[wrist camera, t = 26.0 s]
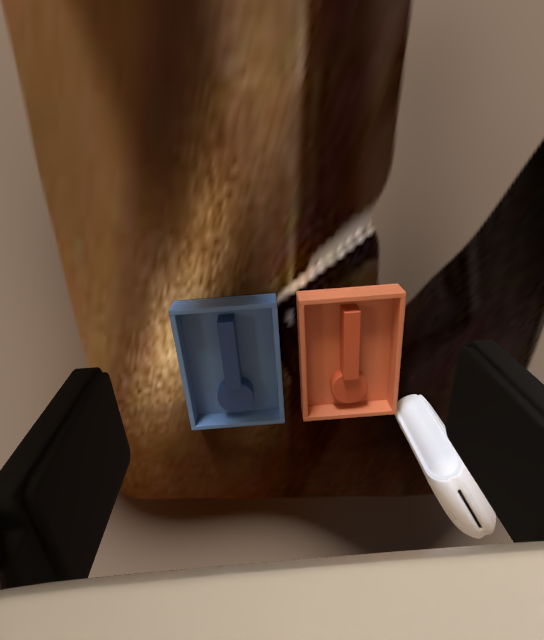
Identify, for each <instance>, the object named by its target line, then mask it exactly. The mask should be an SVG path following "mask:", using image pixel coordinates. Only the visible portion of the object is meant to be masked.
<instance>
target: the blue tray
mask: <svg viewBox="0 0 544 640" xmlns="http://www.w3.org/2000/svg"><path fill="white" fill-rule="evenodd" d="M233 313H234V314H235V323H236V331H237V339H238V348H239V356H240V364H241V373H242V377H244V378H246V379H248V380H249V381H250V382H251V383H252V385H253V388H254V400H253V403H252V405H251V406H250V407H249V408H248V409H247V410H245V411H242V412H236V413H235V412H229V411H227V410H225V409H223V408H222V407H221V406H220V404H219V402H218V389H219V386H220V384H221V382H222V381H223V380H224V372H223V365H222V358H221V351H220V344H219V337H218V330H217V319H218V315H221V314H233ZM169 315H170V321H171V326H172V331H173V336H174V341H175V346H176V351H177V356H178V362H179V367H180V372H181V377H182V382H183V387H184V392H185V397H186V403H187V408H188V413H189V418H190V423H191V428H192V430H202V429H215V428H227V427H240V426H253V425H265V424H278V423H285V415H284V400H283V385H282V371H281V356H280V341H279V326H278V311H277V299H276V293H270V294H257V295H244V296H231V297H218V298H205V299H192V300H179V301H173V303H172V305H171V307H170V309H169Z"/></svg>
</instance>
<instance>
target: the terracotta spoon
mask: <svg viewBox="0 0 544 640" xmlns="http://www.w3.org/2000/svg"><path fill="white" fill-rule="evenodd" d="M360 328H361V311H360V309H359V308H358V306H357V305H356V304H347V305H340V369H339V370H337V371H336V372H335V373H334V374H333V375H332V377H331V379H330V388H331V391H332V394H333V396H334V398H335V399H336V400H338V401H340V402H342V403H354V402H357V401H359V400H360V399H362V398H363V397H364V395H365V394H366V392H367V388H368V385H367V381H366V379H365V377H364V375H363V373H362V372H361V371H360V370H359V361H360Z"/></svg>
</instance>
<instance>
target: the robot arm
mask: <svg viewBox="0 0 544 640" xmlns="http://www.w3.org/2000/svg"><path fill="white" fill-rule="evenodd" d="M445 428H446V434H447V437H448V439H449V441H450V442H451V444H452V446H453V447H454V449H455V450H456V452H457V453H458V455H459V457H460V458H461V460H462V461H463V463H464V465H465V466H466V468H467V469H468V471H469V472H470V474H471V476H472V477H473V479H474V480H475V482H476V483H477V485H478V487H479V488H480V490H481V491H482V493H483V494H484V496H485V498H486V499H487V501H488V502H489V504H490V506H491V507H492V509H493V510H494V512H495V513H496V515H497V516H498V518H499V519H500V521H501V523H502V524H503V526H504V527H505V529H506V531H507V532H508V534H509V535H510V537H511V539H512V540H513V542H514V543H504V544H491V545H478V546H465V547H451V548H438V549H425V550H411V551H398V552H386V553H373V554H360V555H349V556H335V557H323V558H311V559H298V560H286V561H274V562H262V563H250V564H239V565H227V566H215V567H204V568H192V569H180V570H169V571H158V572H147V573H134V574H125V575H114V576H105V577H95V578H88V575H89V573H90V570H91V567H92V564H93V562H94V559H95V556H96V553H97V551H98V548H99V545H100V542H101V539H102V537H103V534H104V531H105V529H106V526H107V523H108V520H109V517H110V515H111V512H112V509H113V506H114V504H115V501H116V498H117V495H118V493H119V490H120V487H121V484H122V482H123V479H124V476H125V473H126V471H127V468H128V465H129V462H130V448H129V444H128V441H127V437H126V433H125V430H124V426H123V423H122V419H121V416H120V412H119V409H118V405H117V402H116V398H115V394H114V391H113V387H112V384H111V380H110V377H109V375H108V373H106V372H102V371H101V369H100V368H98V367H95V368H81V369H75V370H74V371H73V372H72V373H71V374H70V376H69V377H68V379H67V380H66V381H65V383H64V384H63V385H62V387H61V388H60V389H59V391H58V392H57V394H56V395H55V397H54V398H53V399H52V400H51V402H50V403H49V405H48V406H47V407H46V409H45V410H44V411H43V413H42V414H41V416H40V417H39V419H38V420H37V421H36V422H35V424H34V425H33V426H32V428H31V429H30V431H29V432H28V433H27V435H26V436H25V437H24V439H23V440H22V442H21V443H20V444H19V446H18V447H17V449H16V450H15V451H14V453H13V454H12V455H11V457H10V458H9V459H8V461H7V462H6V463H5V465H4V466H3V468H2V469H1V470H0V640H544V385H543V384H542V383H541V382H540V381H539V380H538V379H537V378H536V377H534V376H533V375H532V374H531V373H530V372H529V371H528V370H527V369H525V368H524V367H523V366H522V365H521V364H520V363H519V362H517V361H516V360H515V359H514V358H513V357H512V356H511V355H509V354H508V353H507V352H506V351H505V350H504V349H503V348H501V347H500V346H499V345H498V344H497V343H496V342H494V341H493V340H481V341H469V342H467V344H466V345H465V347H462V348H461V349H460V351H459V355H458V360H457V366H456V371H455V376H454V382H453V387H452V393H451V398H450V404H449V409H448V415H447V420H446V427H445Z"/></svg>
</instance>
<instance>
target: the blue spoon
mask: <svg viewBox="0 0 544 640" xmlns="http://www.w3.org/2000/svg"><path fill="white" fill-rule="evenodd" d="M217 330H218V337H219V344H220V351H221V358H222V365H223V372H224V380H223V381H222V382H221V384H220V386H219V389H218V402H219V404H220V406H221V407H222V408H223V409H225V410H227V411H229V412H235V413H236V412H242V411H245V410H247V409H248V408H249V407H250V406H251V405H252V403H253V400H254V388H253V385H252V383H251V382H250V381H249V380H248V379H246V378H244V377H242V373H241V364H240V356H239V348H238V339H237V331H236V323H235V314H234V313H233V314H221V315H218V319H217Z"/></svg>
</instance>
